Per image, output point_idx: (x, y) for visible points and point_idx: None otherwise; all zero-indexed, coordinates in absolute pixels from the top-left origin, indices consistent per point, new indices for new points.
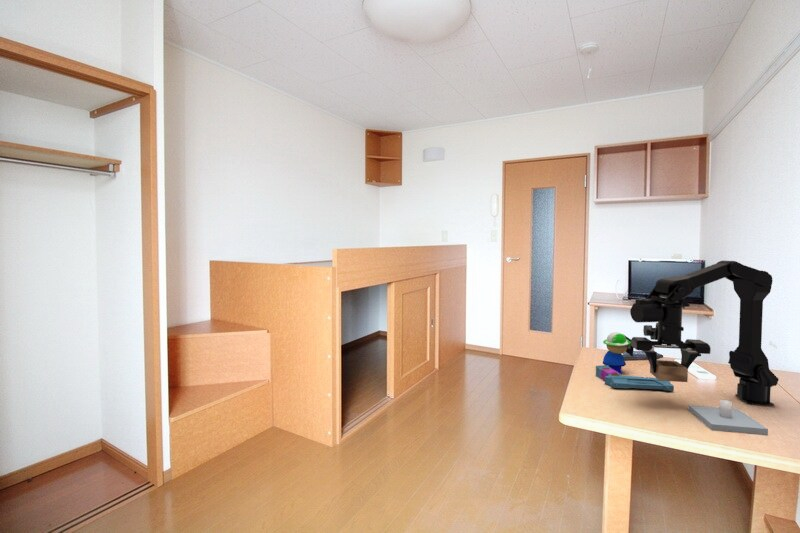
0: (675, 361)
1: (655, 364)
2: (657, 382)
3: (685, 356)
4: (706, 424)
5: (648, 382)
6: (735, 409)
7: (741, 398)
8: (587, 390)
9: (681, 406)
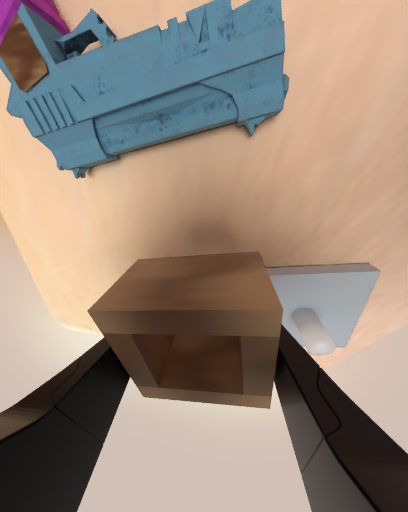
0: (268, 319)
1: (124, 381)
2: (218, 87)
3: (322, 496)
4: None
5: (178, 103)
6: (366, 277)
7: None
8: (30, 207)
9: (243, 251)
